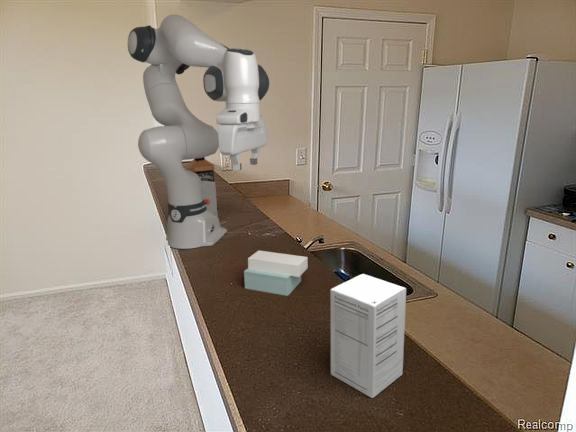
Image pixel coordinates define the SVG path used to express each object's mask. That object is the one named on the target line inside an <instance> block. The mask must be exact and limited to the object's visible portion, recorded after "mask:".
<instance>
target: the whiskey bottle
mask: <svg viewBox="0 0 576 432" xmlns="http://www.w3.org/2000/svg"><path fill="white" fill-rule="evenodd" d="M185 169H187V170H190V171H192V172H194V173H196V174H197V175H198V176H199V177H200V179H201V181H211V182H215V175H214V170H215V164H214V163H211V162H210V161H208V160H207V159H206V157H203V158H196V159H191V161H189V162H188V163H186V164H185ZM218 202H219V201H217V208H218V209H219V205H218Z"/></svg>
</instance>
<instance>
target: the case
mask: <svg viewBox="0 0 576 432" xmlns="http://www.w3.org/2000/svg"><path fill="white" fill-rule="evenodd" d="M243 278H244V280H243V281H244V289H247V290H251V291H257V292H263V293H267V294H275V295H280V296H286V297H287V296H289V295H290V294H291V293H292V292H293V290H295V289H296V287H298V285H299V284H300V283H301V282H302V275H301V276H300V277H295V276H289V275H282V274H276V273H269V272H263V271H257V270H250V269H248V267H247V268H246V269H244V271H243Z"/></svg>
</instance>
